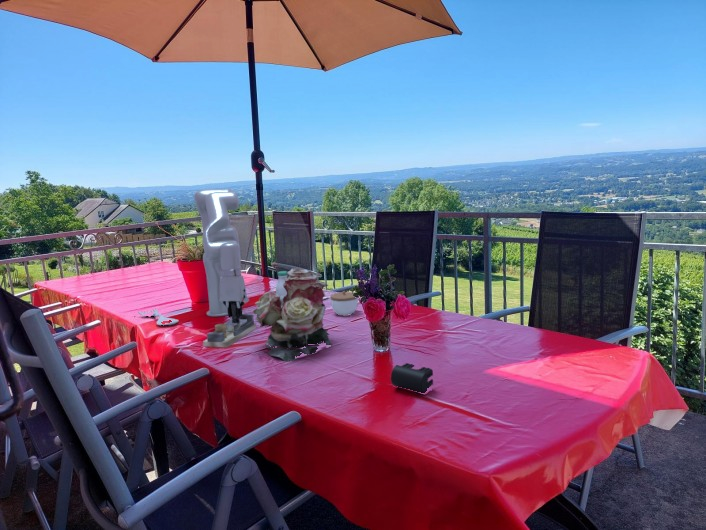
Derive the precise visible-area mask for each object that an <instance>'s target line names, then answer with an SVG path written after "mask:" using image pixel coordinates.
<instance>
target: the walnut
mask: <svg viewBox="0 0 706 530" xmlns="http://www.w3.org/2000/svg"><path fill="white" fill-rule="evenodd" d="M214 328H215V330H214V331H216V332H218V333H224V337H225V338H226V337H227V334H226V324H225V323H218V324H215V325H214Z"/></svg>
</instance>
